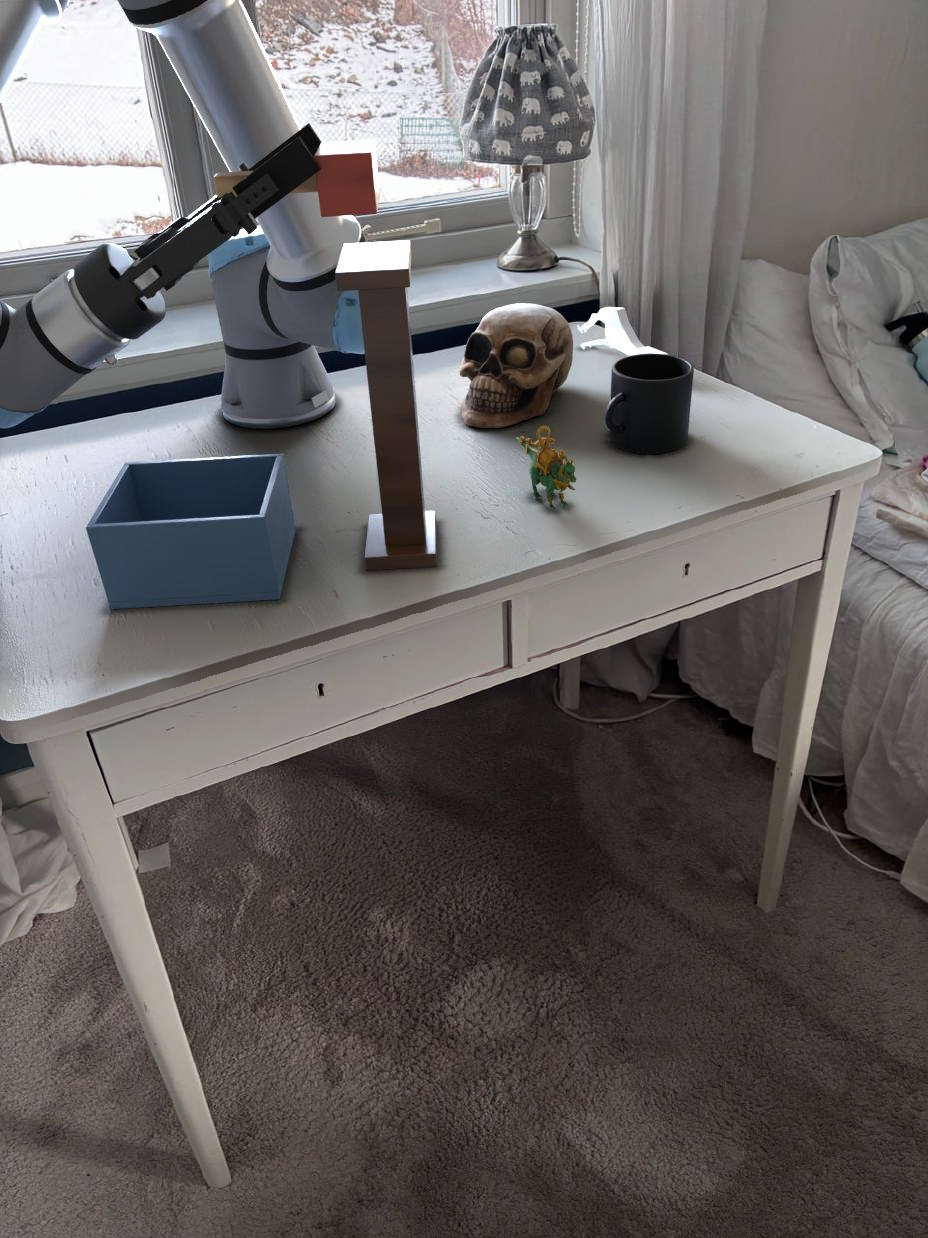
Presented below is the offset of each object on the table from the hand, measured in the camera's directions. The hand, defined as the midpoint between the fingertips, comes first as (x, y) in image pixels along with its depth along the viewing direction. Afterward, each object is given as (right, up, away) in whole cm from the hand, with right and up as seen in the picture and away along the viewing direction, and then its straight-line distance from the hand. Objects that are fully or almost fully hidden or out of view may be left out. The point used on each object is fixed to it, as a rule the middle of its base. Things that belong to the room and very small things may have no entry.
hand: (314, 145), depth 77 cm
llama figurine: (+35, -1, +62) cm, 71 cm away
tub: (-14, -33, +19) cm, 40 cm away
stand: (+6, -31, +21) cm, 37 cm away
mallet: (-2, -4, +3) cm, 5 cm away
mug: (+33, -17, +39) cm, 54 cm away
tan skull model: (+19, -9, +52) cm, 56 cm away
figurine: (+21, -25, +28) cm, 43 cm away
